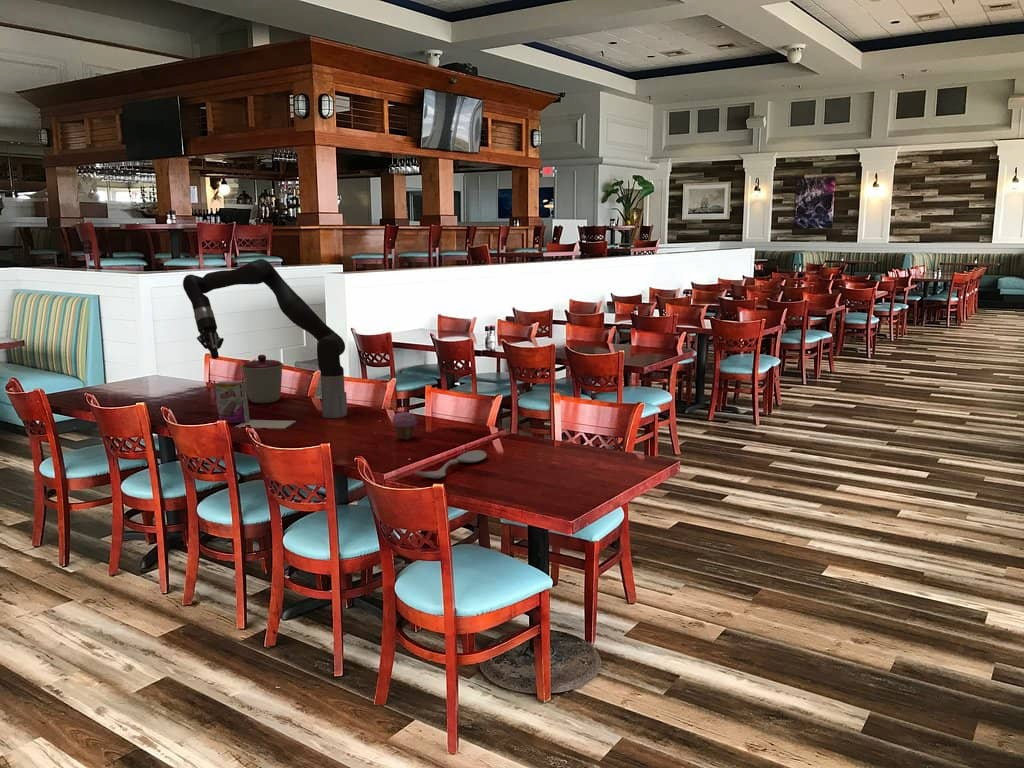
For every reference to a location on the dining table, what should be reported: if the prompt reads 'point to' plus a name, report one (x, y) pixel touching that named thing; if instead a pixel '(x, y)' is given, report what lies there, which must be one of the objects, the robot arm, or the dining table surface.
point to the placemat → (267, 424)
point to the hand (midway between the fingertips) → (215, 358)
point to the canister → (263, 379)
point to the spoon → (466, 458)
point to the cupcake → (404, 425)
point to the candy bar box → (232, 401)
